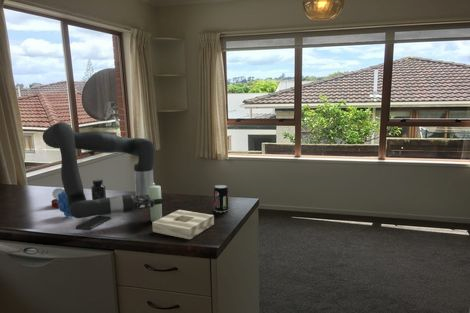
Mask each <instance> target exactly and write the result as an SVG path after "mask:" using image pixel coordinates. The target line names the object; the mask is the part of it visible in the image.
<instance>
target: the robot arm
mask: <svg viewBox="0 0 470 313" xmlns="http://www.w3.org/2000/svg"><path fill="white" fill-rule="evenodd" d="M42 141H43V142H44V143H45V144H46V146H49V147H51V148H52V149H59V151H60V156H61V166H60V176H61V182H62V186H63V190H65V193H66V195H67V198H68V202H69V206H70V214H71V215H72V216H73V217H72V218H75V219H84V218H90V217H91V218H92V217H95V216H107V215H119V214H126V213H132V212H134V211H135V208H138V209H140V210H145V209H150V207H154V205H157V204H162V205H163V204H164V198H161V199H154V200H153V199H152V200H150V197H149V187H150V186H156V184H155V182H154V165H155V145H154V143H153V140H151V139H148V138H140V137H137V138H136V137H122V136H120V135H117V134H115V133H112V132H111V133H110V132H106V131H84V132H83V131H82V132H81V131H79V132H76V131H74V130H73V127H72V126H71V125H70V124H69V123H67V122H64V121H60V122H56V123H55V124H53V125H51V126H49V127H48V128H46V129H45V131H44V132H43V133H42ZM77 150H82V151H91V152H98V153H106V154H115V153H122V154H123V153H124V154H128V155H131V156H135V157H138V162H137V163H135V164H134V165H133V172H134V174H133V175H134V186H135V197H133V194H131V193H129V194H123V195H122V194H121V195H114V196H111V197H106V198H100V199H96V200H92V199H87V197H86V195H85V190H84V185H83V181H82V179H81V173H80V169H79V165H78V158H77ZM150 203H151V204H150Z"/></svg>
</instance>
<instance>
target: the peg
mask: <svg viewBox="0 0 470 313" xmlns="http://www.w3.org/2000/svg"><path fill="white" fill-rule="evenodd" d="M149 197H150V200H152V199H153V200H154V199H162V189H161V185H156V184H155V186H150V187H149ZM150 204H151V203H150ZM162 205H163V204H157V205H154V207H150V208H149V212H150V213H149V214H150V221H151V222H154V221H156V220H158V219H160V218H162V217H163V208H162V207H163V206H162Z"/></svg>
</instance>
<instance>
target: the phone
mask: <svg viewBox="0 0 470 313" xmlns="http://www.w3.org/2000/svg"><path fill="white" fill-rule="evenodd" d="M110 220H112V216H107V215H96V216H92V217H91V218H90V219H88V220H85V221H83V222H81V223H79V224H77V225H75V229H77V230H85V231H87V230H88V231H91V230H93V229H95V228H97V227H99V226H101V225H103V224H105V223H107V222H108V221H110ZM104 222H105V223H104Z"/></svg>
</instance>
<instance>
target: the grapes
mask: <svg viewBox="0 0 470 313" xmlns="http://www.w3.org/2000/svg"><path fill="white" fill-rule="evenodd" d="M58 198H59V199H58V201H57V204H58V207H59V208H58V209H59V211H60V212H61V213H63V215H64V216H65V217H67V218H68V217H70V218H74V217H73V216H72V215H71V214H70V206H69V202H68V198H67V195H66V193H65V191H62V192H61V193H59V194H58Z"/></svg>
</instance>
